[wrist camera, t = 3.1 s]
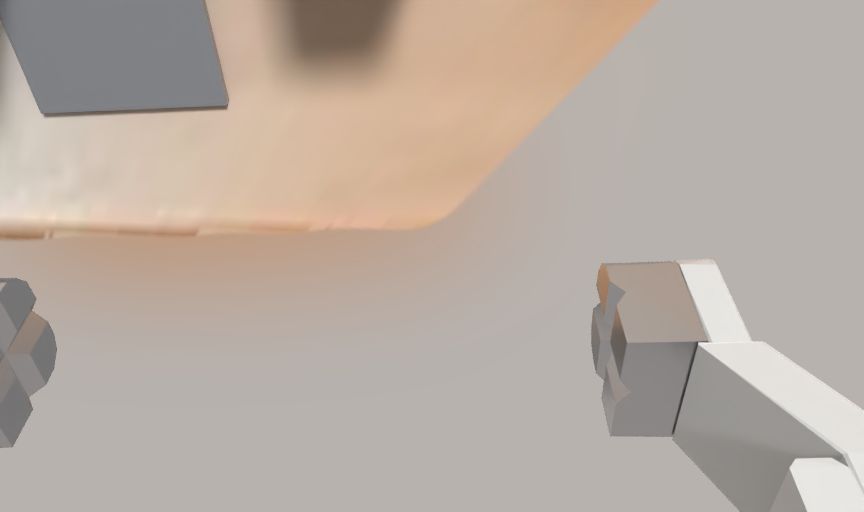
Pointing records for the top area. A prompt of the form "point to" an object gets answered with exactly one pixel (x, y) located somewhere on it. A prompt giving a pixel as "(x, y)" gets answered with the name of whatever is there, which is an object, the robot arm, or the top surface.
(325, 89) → the top surface
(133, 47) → the slate coaster
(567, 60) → the top surface
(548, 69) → the top surface
